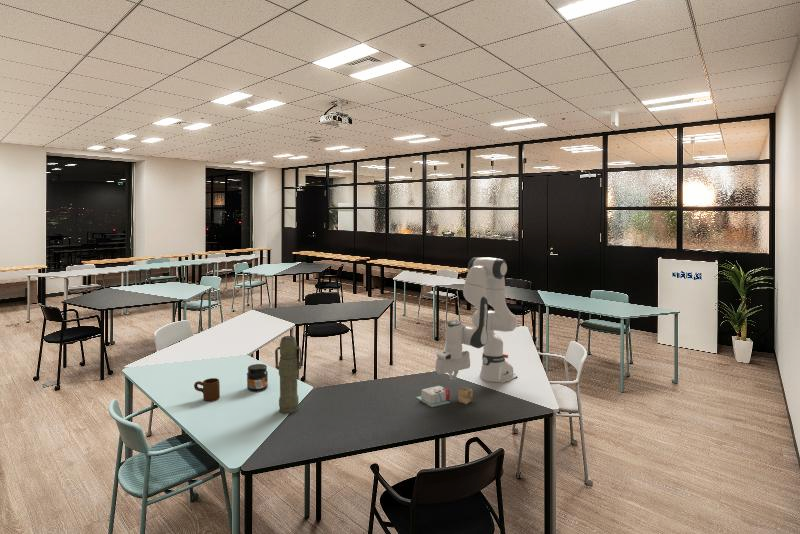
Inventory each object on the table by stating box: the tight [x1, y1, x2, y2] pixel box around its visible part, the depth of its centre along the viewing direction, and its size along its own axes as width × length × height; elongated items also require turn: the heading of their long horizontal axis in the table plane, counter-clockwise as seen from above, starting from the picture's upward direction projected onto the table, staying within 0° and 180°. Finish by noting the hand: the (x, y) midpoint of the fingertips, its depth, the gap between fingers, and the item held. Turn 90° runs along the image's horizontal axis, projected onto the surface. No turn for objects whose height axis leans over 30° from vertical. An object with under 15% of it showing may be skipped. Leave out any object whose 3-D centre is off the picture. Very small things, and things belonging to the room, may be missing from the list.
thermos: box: [274, 335, 302, 415], centre depth 213 cm, size 9×12×35 cm
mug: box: [193, 377, 221, 403], centre depth 226 cm, size 12×8×9 cm, turn 96°
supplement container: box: [246, 363, 269, 393], centre depth 241 cm, size 10×10×12 cm
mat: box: [415, 395, 451, 408], centre depth 229 cm, size 11×14×1 cm
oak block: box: [457, 386, 473, 405], centre depth 228 cm, size 5×5×6 cm
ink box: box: [420, 385, 451, 404], centre depth 229 cm, size 9×5×12 cm
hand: (453, 379), depth 235 cm, fingers closed
